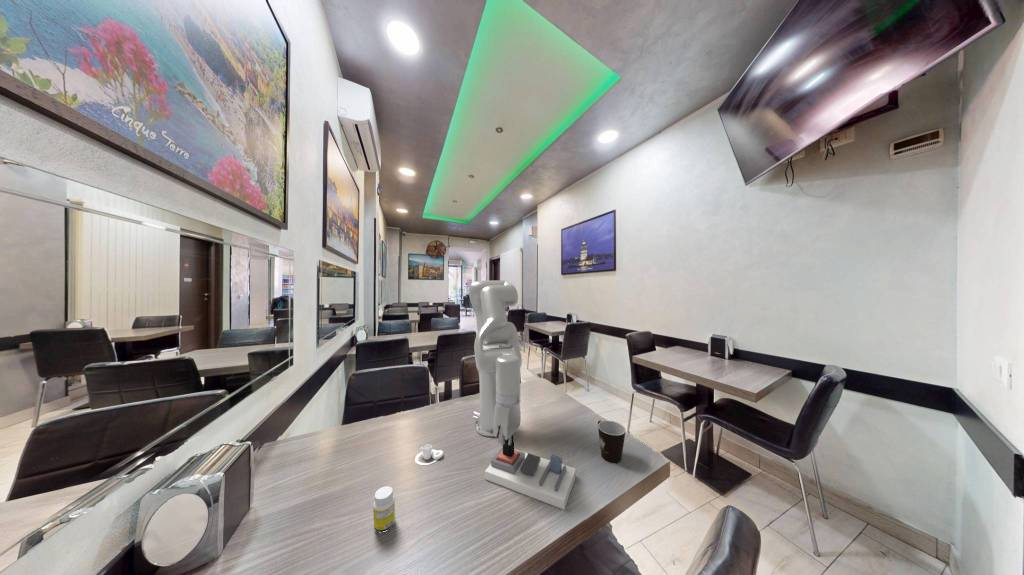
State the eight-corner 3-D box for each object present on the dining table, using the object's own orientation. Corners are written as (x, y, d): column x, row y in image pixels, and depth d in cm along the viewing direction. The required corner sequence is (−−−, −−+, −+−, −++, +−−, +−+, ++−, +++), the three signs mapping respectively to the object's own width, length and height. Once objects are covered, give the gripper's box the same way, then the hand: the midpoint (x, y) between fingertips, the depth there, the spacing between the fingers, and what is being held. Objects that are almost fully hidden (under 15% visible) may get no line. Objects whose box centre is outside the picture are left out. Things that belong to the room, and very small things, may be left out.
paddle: (550, 471, 82) (550, 455, 81) (551, 468, 83) (551, 452, 83) (561, 474, 80) (561, 459, 80) (562, 471, 81) (563, 456, 81)
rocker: (520, 472, 81) (520, 468, 81) (528, 456, 86) (528, 453, 86) (533, 476, 79) (533, 472, 79) (540, 460, 84) (540, 456, 84)
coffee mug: (627, 467, 87) (628, 436, 86) (598, 463, 89) (599, 433, 88) (620, 444, 98) (621, 417, 98) (595, 441, 100) (595, 415, 99)
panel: (485, 479, 82) (484, 465, 82) (505, 453, 94) (505, 441, 94) (564, 509, 72) (564, 493, 71) (575, 476, 83) (576, 462, 83)
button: (497, 463, 85) (497, 456, 85) (505, 453, 89) (505, 447, 89) (512, 468, 82) (512, 461, 82) (519, 458, 87) (519, 451, 87)
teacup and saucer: (446, 455, 94) (446, 443, 93) (430, 470, 86) (430, 457, 86) (426, 448, 97) (426, 437, 97) (409, 462, 90) (409, 450, 90)
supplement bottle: (378, 517, 70) (377, 485, 69) (398, 515, 70) (397, 483, 69) (370, 535, 65) (369, 501, 64) (391, 533, 65) (390, 499, 65)
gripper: (508, 385, 93) (508, 438, 94) (484, 404, 80) (485, 465, 81) (529, 389, 90) (529, 444, 91) (508, 409, 76) (508, 474, 77)
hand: (508, 454), depth 86 cm, fingers closed
